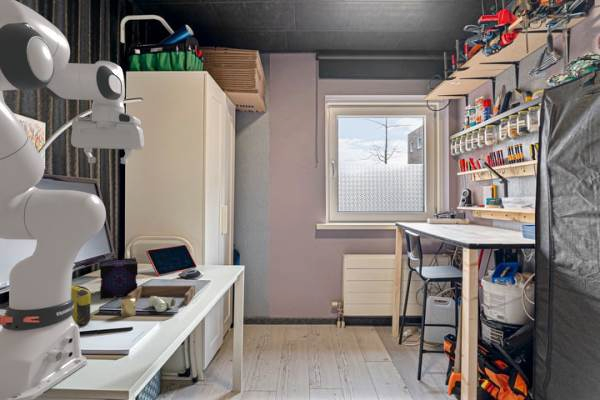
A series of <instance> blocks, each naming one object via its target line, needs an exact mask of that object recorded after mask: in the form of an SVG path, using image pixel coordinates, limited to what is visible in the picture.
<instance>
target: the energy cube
mask: <svg viewBox="0 0 600 400" xmlns="http://www.w3.org/2000/svg"><path fill="white" fill-rule="evenodd" d="M138 269H139V267H138V261H137V259H136V257H129V258H123V259H121V260H120V259H119V260H118V259H117V260H116V259H113V258H112V259H102V260H101V261H100V277H99V278H100V292H99V296H100V300H107V299H115V298H116V297H120V296H121V297H124V298H127V295H128V294H130V293H131V292H132V291H134V290H135V289H137V288H138V283H137V276H138V273H139V272H138Z"/></svg>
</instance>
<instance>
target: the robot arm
mask: <svg viewBox="0 0 600 400" xmlns="http://www.w3.org/2000/svg"><path fill="white" fill-rule="evenodd" d="M70 55H71V48H70V44H69V42H68V39H67V38H66V36H65V35H64V34H63V33H62V31H61V30H60V29H59V28H58V27H57V26H55V25H54V24H53V23H52V22H51V21H49V20H48V19H47V18H45V17H44V16H42V15H41V14H39V13H38V12H37V11H35V10H34V9H32V8H31V7H28V5H25V4H23V3H21V2H20V1H17V0H0V239H2V240H27V241H28V240H32V241H33V240H34V241H35V240H36V245H35V248H34V249H35V250H34V251H33V253H32V255H30V256H28V257H26V258H24V259H22V260H20V261H19V262H17V263H16V264H15V265H13V267H12V268H11V270H10V272H9V276H8V277H9V278H8V282H9V283H8V287H9V288H8V292H9V293H8V294H9V295H8V296H9V297H8V298H9V299H8V304H9V305H7V307H6V310H5V313H4V314H3V315H2V314H0V326H1V327H2V328H1V330H0V400H35V399H36V398H38V397H39V396H40V395H41V394H43V393H45V392H47V391H48V390H49V389H51V388H52V387H54V386H56V385H57V384H59V383H60V382H61V381H63V380H64V379H66V378H68V377H69V376H70V375H72V374H74V372H76V371H77V370H79V369H80V368H82V367H84V366H85V365H87V363H88V361H87V357H86V356H84V355H83V354H82V348H81V347H82V346H81V336H80V335H81V334H80V328H79V324H78V323H76V322H75V321H74V320H73V317H72V315H73V313H74V301H73V297H71V287H72V285H73V284H72V282H73V281H72V280H73V271H74V266H75V265H74V264H75V261H76V258H77V256H78V254H79V252H80V251H81V249H82V248H83V246H84V245H85V244H86V243H87V242H88V241H89V240H91V238H93V237H95V236H96V235H97V234H99V232H100V231H101V230H102V229H103V227H104V225H105V222H106V218H107V212H106V210H107V209H106V206H105V205H104V202H103V201H102V200H101V198H100V197H99V196H98V195H96V194H93V193H89V192H85V191H79V190H72V189H42V188H38V187H36V186H37V184H39V183H40V181H41V180H42V179H43V177H44V174H45V162H44V160H43V158H42V156H41V155H40V152H39V151H38V149H37V148H36V146H35V144H34V143H33V141H32V139H31V137H30V136H29V134H28V133H27V131H26V129H25V128H24V127H23V125H22V124H21V122H20V120H19V119H18V118H17V116H16V115H15V114H14V113H13V111H12V110H11V108H10V107H9V106H8V105H7V104H6V102H5V98H4V92H3V91H16V90H19V91H24V92H27V91H33V90H40V89H43V90H44V92H46V94H47V95H49V96H50V97H51V98H53V99H54V100H57V101H65V100H66V101H67V100H69V101H70V100H79V101H80V100H82V101H84V100H85V101H92V103H91V116H90V117H89V116H88V117H86V116H85V117H84V116H77V117H76V118H74V119H73V120H72V122H71V129H72V130H71V136H70V144H71V145H72V146H73V147H75V148H77V149H78V148H79V149H82V148H83V152H84V153H85V155H86V157H87V162H88V163H89V164H96V162H97V160H96V159H97V157H95V156H93V154H92V152H93V149H109V150H111V149H112V150H124V153H125V154H124V156H123V157H120V164H121V165H122V164H123V165H128V163H129V158H130V157H131V156H132V153H133V150H136V151H138V150H140V151H142V150H143V148H144V147H145V137H144V131H143V129H142V127H141V125H142V121H141V119H139V118H137V117H136V116H133V115H131V114H128V113H126V112H125V105H124V100H125V96H126V93H125V92H126V89H125V87H126V86H125V85H126V84H125V78H124V77H125V75H124V72H123V71H124V70H123V68H121V66H120V65H118V64H116V63H115V62H112V61H110V60H109V61H108V60H98V61H96V62H95V63H75V62H73V63H71V62H69V61H70V57H71V56H70Z"/></svg>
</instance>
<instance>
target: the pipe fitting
mask: <svg viewBox="0 0 600 400" xmlns="http://www.w3.org/2000/svg"><path fill="white" fill-rule="evenodd" d="M147 303H148V307H150V308H151V307H152V308H155V311H156V312H158V313H162V312H165V311H166V310H167V309H170V310H171V309H174V308H175V306H176V298H175V297H172V296H167V297H166V296H149V298H148V301H147Z"/></svg>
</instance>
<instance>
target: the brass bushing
mask: <svg viewBox="0 0 600 400" xmlns="http://www.w3.org/2000/svg"><path fill="white" fill-rule="evenodd" d="M136 302H137V300H136V298H134V297H124V298H122V299H121V301H120V303H121V306H120V307H121V312H120V313H121V318H131V317H134V316H135V315H136V307H137V306H136Z"/></svg>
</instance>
